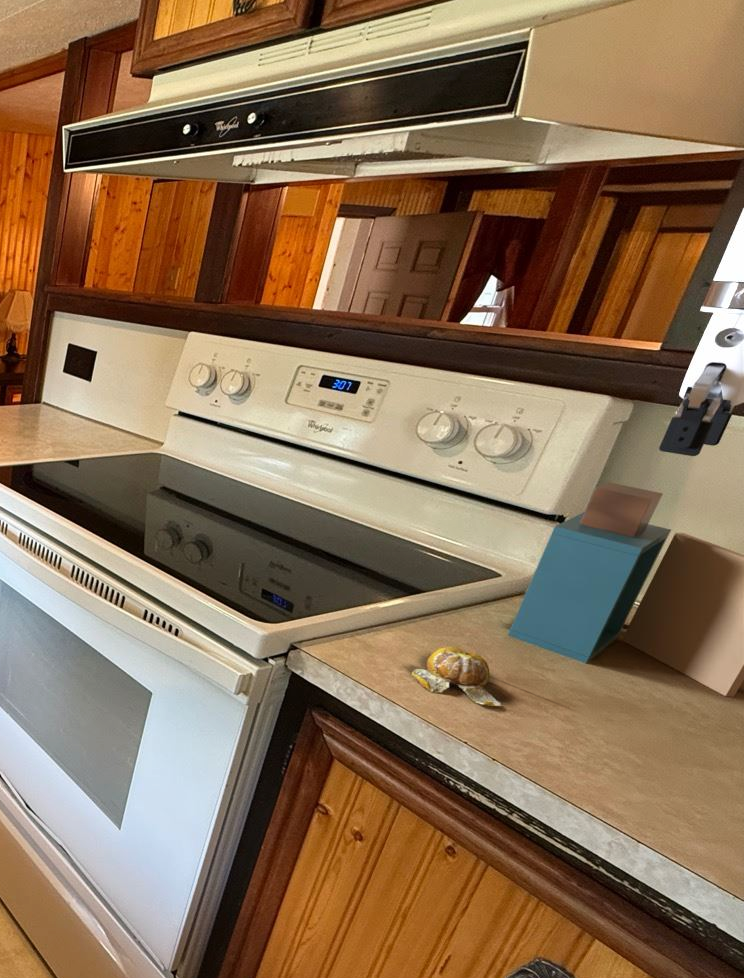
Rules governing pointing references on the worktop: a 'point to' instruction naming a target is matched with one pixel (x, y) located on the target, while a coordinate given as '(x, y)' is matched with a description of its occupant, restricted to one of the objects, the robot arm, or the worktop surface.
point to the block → (620, 509)
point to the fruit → (457, 674)
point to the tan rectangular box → (695, 614)
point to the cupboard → (585, 588)
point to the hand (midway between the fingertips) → (688, 448)
